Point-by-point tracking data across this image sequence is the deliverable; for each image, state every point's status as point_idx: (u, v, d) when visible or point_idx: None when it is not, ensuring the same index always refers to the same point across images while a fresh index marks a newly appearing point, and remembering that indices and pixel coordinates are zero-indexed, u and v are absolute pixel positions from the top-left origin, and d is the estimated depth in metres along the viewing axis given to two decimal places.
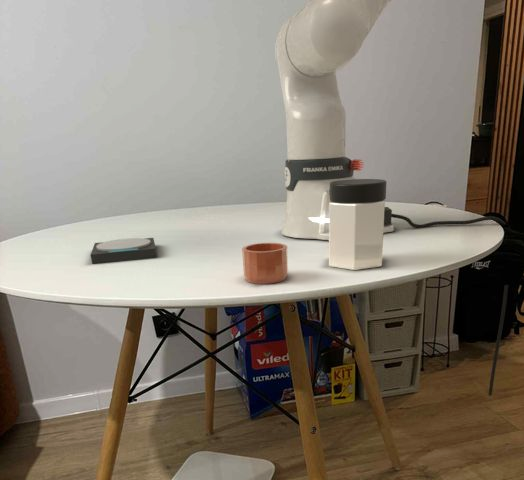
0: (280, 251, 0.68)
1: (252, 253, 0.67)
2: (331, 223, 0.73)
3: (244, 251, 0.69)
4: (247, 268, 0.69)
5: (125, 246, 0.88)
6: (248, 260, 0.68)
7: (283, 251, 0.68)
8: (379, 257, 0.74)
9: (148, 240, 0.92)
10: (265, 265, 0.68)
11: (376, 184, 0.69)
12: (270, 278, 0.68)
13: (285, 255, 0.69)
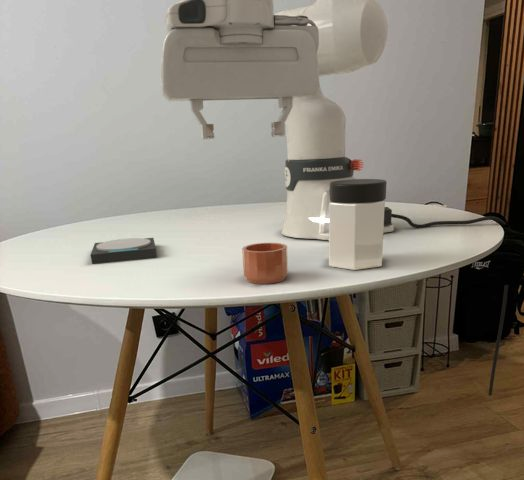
0: (280, 251, 0.68)
1: (252, 253, 0.67)
2: (331, 223, 0.73)
3: (244, 251, 0.69)
4: (247, 268, 0.69)
5: (125, 246, 0.88)
6: (248, 260, 0.68)
7: (283, 251, 0.68)
8: (379, 257, 0.74)
9: (148, 240, 0.92)
10: (265, 265, 0.68)
11: (376, 184, 0.69)
12: (270, 278, 0.68)
13: (285, 255, 0.69)
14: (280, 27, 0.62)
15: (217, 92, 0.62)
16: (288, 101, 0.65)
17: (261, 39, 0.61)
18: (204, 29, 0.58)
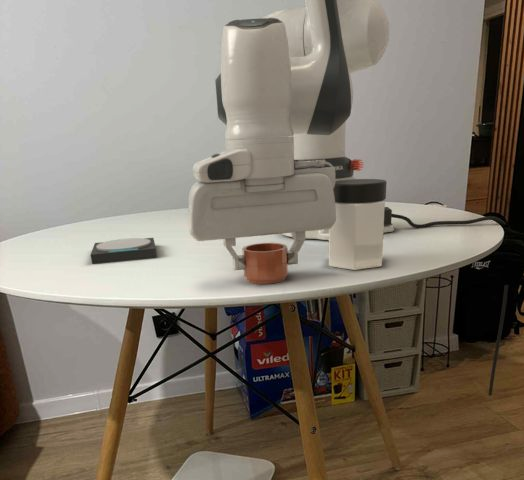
0: (280, 251, 0.68)
1: (252, 254, 0.67)
2: None
3: (244, 251, 0.69)
4: (247, 268, 0.69)
5: (125, 246, 0.88)
6: (248, 260, 0.68)
7: (283, 251, 0.68)
8: (379, 257, 0.74)
9: (148, 240, 0.92)
10: (265, 265, 0.68)
11: (376, 184, 0.69)
12: (270, 278, 0.68)
13: (285, 255, 0.69)
14: (299, 171, 0.67)
15: (242, 233, 0.66)
16: (301, 235, 0.69)
17: (283, 186, 0.65)
18: (231, 183, 0.63)
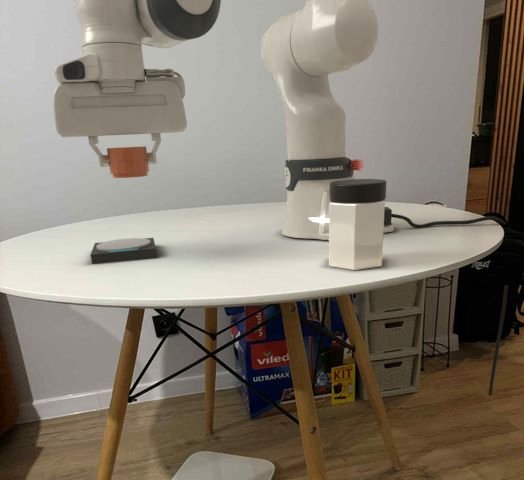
0: (136, 148, 0.79)
1: (112, 150, 0.79)
2: (331, 223, 0.73)
3: (107, 149, 0.80)
4: (110, 164, 0.81)
5: (125, 246, 0.88)
6: (110, 156, 0.80)
7: (140, 149, 0.80)
8: (379, 257, 0.74)
9: (148, 240, 0.92)
10: (123, 160, 0.79)
11: (376, 184, 0.69)
12: (129, 172, 0.80)
13: (142, 153, 0.80)
14: (151, 78, 0.78)
15: (101, 131, 0.78)
16: (157, 136, 0.81)
17: (134, 89, 0.77)
18: (85, 83, 0.74)
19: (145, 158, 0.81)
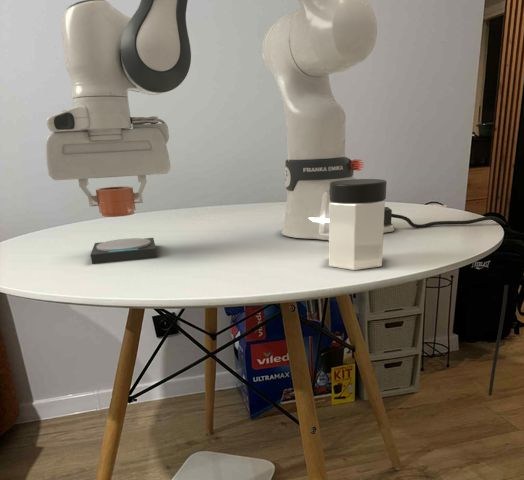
0: (123, 190, 0.85)
1: (100, 191, 0.85)
2: (331, 223, 0.73)
3: (96, 190, 0.86)
4: (99, 204, 0.86)
5: (125, 246, 0.88)
6: (98, 197, 0.86)
7: (126, 190, 0.86)
8: (379, 257, 0.74)
9: (148, 240, 0.92)
10: (111, 201, 0.85)
11: (376, 184, 0.69)
12: (116, 212, 0.86)
13: (129, 194, 0.86)
14: (136, 126, 0.84)
15: (90, 174, 0.84)
16: (142, 178, 0.87)
17: (120, 136, 0.83)
18: (75, 132, 0.80)
19: (131, 198, 0.87)
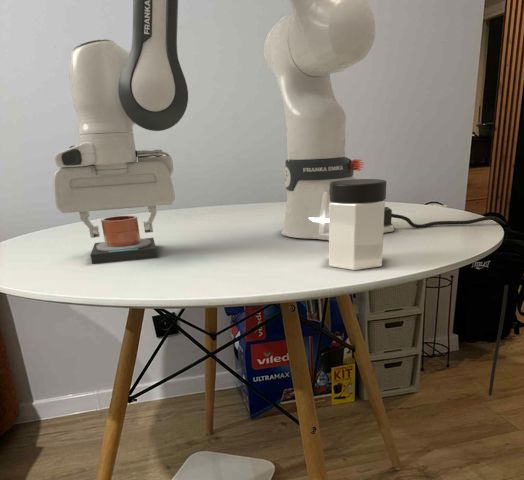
0: (128, 220, 0.87)
1: (106, 222, 0.87)
2: (331, 223, 0.73)
3: (101, 221, 0.88)
4: (104, 234, 0.88)
5: (125, 246, 0.88)
6: (104, 228, 0.88)
7: (131, 221, 0.88)
8: (379, 257, 0.74)
9: (148, 240, 0.92)
10: (116, 231, 0.87)
11: (376, 184, 0.69)
12: (121, 242, 0.88)
13: (134, 224, 0.88)
14: (141, 159, 0.86)
15: (97, 207, 0.86)
16: (153, 208, 0.89)
17: (126, 170, 0.85)
18: (82, 167, 0.82)
19: (136, 228, 0.89)
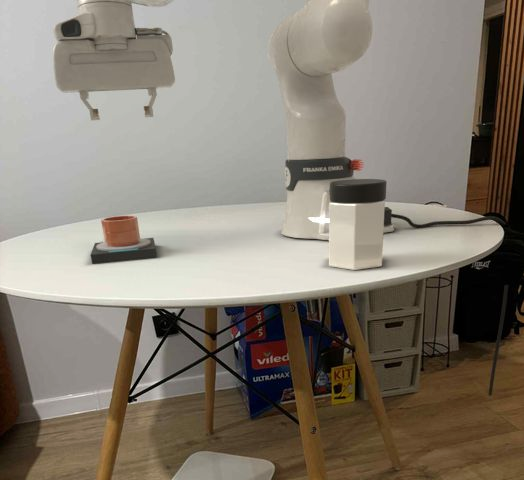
0: (128, 220, 0.87)
1: (106, 222, 0.87)
2: (331, 223, 0.73)
3: (101, 221, 0.88)
4: (104, 234, 0.88)
5: (125, 246, 0.88)
6: (104, 228, 0.88)
7: (131, 221, 0.88)
8: (379, 257, 0.74)
9: (148, 240, 0.92)
10: (116, 231, 0.87)
11: (376, 184, 0.69)
12: (121, 242, 0.88)
13: (134, 224, 0.88)
14: (141, 37, 0.86)
15: (97, 85, 0.86)
16: (153, 90, 0.89)
17: (126, 46, 0.84)
18: (81, 40, 0.82)
19: (136, 228, 0.89)
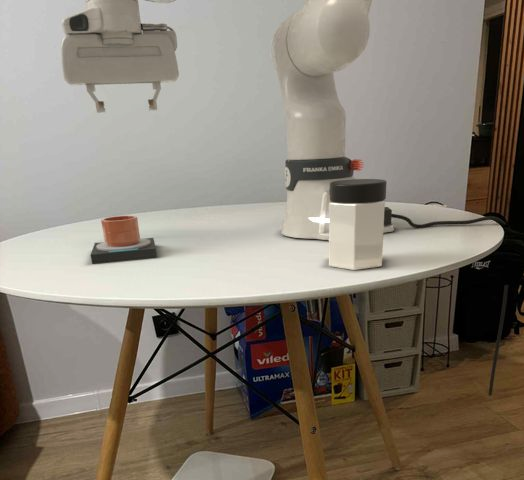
0: (128, 220, 0.87)
1: (106, 222, 0.87)
2: (331, 223, 0.73)
3: (101, 221, 0.88)
4: (104, 234, 0.88)
5: (125, 246, 0.88)
6: (104, 228, 0.88)
7: (131, 221, 0.88)
8: (379, 257, 0.74)
9: (148, 240, 0.92)
10: (116, 231, 0.87)
11: (376, 184, 0.69)
12: (121, 242, 0.88)
13: (134, 224, 0.88)
14: (146, 32, 0.89)
15: (103, 78, 0.89)
16: (157, 84, 0.91)
17: (131, 41, 0.87)
18: (89, 34, 0.85)
19: (136, 228, 0.89)
